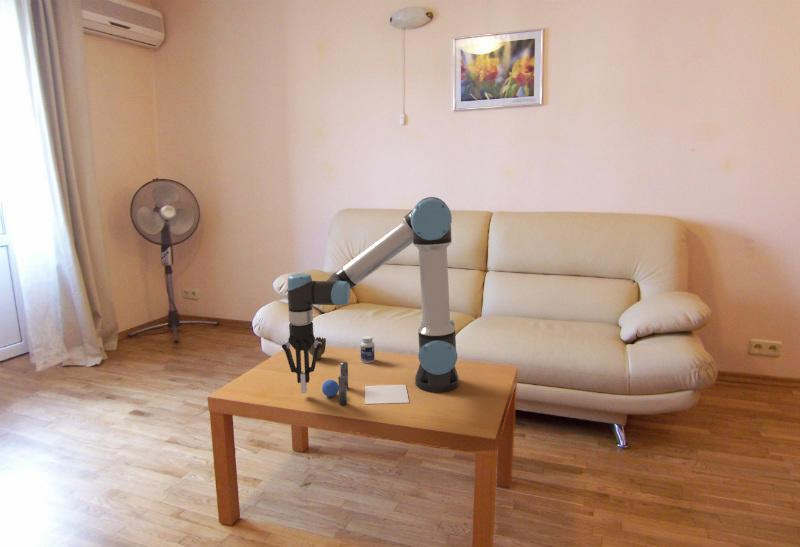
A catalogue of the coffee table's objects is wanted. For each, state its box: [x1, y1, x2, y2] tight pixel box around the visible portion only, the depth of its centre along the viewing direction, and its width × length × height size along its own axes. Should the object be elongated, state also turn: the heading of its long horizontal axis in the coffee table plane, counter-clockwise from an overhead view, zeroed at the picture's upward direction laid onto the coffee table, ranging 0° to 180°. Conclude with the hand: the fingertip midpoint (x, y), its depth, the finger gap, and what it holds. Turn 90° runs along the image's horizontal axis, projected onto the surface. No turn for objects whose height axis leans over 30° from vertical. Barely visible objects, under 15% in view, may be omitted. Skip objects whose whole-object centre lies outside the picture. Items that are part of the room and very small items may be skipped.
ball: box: [321, 379, 339, 398], centre depth 167 cm, size 6×6×6 cm
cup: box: [309, 336, 327, 361], centre depth 201 cm, size 8×7×8 cm
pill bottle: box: [360, 335, 375, 364], centre depth 199 cm, size 5×5×10 cm
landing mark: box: [364, 384, 410, 405], centre depth 169 cm, size 14×14×1 cm
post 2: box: [337, 375, 348, 406], centre depth 161 cm, size 2×2×9 cm
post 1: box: [339, 361, 349, 390], centre depth 173 cm, size 2×2×9 cm
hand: (303, 391), depth 167 cm, fingers closed
